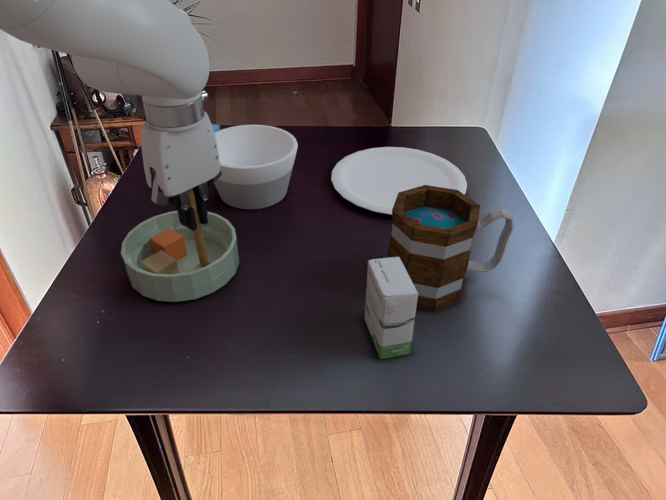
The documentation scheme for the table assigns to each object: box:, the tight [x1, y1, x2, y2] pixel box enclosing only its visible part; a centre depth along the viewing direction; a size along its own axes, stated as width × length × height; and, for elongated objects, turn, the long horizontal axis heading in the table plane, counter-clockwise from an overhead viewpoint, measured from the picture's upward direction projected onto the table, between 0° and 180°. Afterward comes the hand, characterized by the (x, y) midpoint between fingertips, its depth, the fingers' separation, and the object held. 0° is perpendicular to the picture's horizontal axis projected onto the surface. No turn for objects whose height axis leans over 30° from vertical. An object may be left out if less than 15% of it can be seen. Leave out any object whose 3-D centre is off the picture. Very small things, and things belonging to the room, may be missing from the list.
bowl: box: [213, 124, 299, 210], centre depth 105 cm, size 19×19×11 cm
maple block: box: [141, 250, 179, 274], centre depth 83 cm, size 4×4×4 cm
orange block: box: [150, 228, 187, 261], centre depth 88 cm, size 4×4×4 cm
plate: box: [330, 146, 468, 216], centre depth 111 cm, size 29×29×2 cm
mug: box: [387, 185, 515, 312], centre depth 82 cm, size 20×14×15 cm
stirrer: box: [187, 189, 212, 270], centre depth 80 cm, size 4×4×15 cm
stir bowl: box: [120, 210, 240, 303], centre depth 86 cm, size 18×18×6 cm
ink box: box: [364, 257, 418, 360], centre depth 73 cm, size 9×5×12 cm, turn 13°
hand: (194, 223), depth 79 cm, fingers closed on stirrer, 1 cm apart
